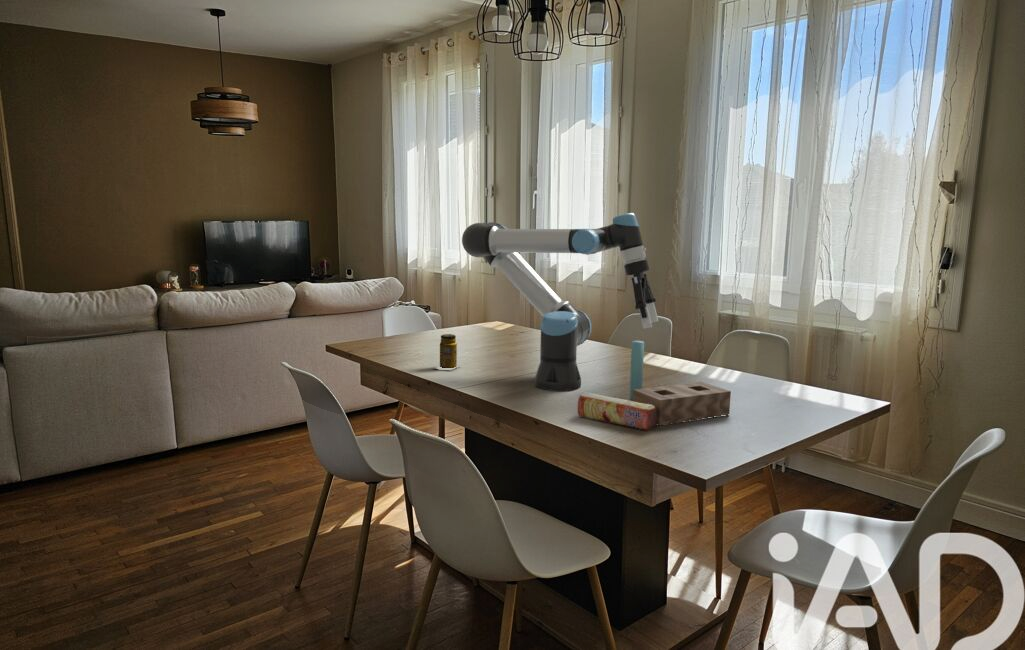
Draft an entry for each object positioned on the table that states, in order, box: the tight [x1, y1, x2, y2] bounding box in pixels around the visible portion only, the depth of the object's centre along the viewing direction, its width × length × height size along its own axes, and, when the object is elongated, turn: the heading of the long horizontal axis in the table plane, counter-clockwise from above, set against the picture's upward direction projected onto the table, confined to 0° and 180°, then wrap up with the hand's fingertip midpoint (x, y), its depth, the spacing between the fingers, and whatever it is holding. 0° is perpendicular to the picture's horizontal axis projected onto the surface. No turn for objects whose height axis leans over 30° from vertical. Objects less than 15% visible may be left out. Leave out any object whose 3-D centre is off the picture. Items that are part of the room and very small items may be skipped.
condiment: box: [439, 333, 458, 368], centre depth 243 cm, size 7×8×12 cm
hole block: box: [633, 381, 732, 426], centre depth 189 cm, size 24×12×7 cm, turn 116°
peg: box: [629, 340, 645, 401], centre depth 202 cm, size 4×4×18 cm
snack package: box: [576, 391, 656, 431], centre depth 182 cm, size 21×7×7 cm, turn 54°
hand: (651, 325), depth 221 cm, fingers open, 13 cm apart
